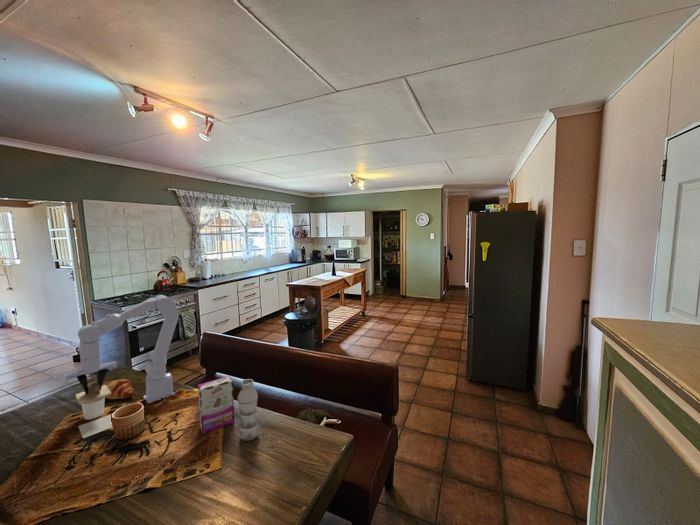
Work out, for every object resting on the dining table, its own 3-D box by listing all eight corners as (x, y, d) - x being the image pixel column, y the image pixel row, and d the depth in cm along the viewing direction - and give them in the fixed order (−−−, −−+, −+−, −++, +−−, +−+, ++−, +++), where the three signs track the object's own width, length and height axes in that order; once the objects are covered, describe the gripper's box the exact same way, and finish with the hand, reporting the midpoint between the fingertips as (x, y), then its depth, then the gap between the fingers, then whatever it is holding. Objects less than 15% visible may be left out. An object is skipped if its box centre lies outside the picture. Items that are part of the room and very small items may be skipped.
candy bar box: (231, 416, 110) (230, 375, 109) (234, 422, 106) (233, 380, 105) (199, 427, 104) (197, 384, 102) (201, 434, 100) (199, 389, 98)
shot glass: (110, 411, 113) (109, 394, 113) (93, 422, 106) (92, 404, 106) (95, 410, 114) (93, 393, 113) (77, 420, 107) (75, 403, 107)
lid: (106, 386, 115) (105, 376, 114) (111, 394, 109) (110, 383, 109) (75, 395, 108) (74, 385, 107) (79, 404, 102) (78, 393, 102)
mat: (113, 414, 111) (113, 413, 111) (119, 424, 105) (119, 423, 105) (78, 427, 103) (78, 426, 103) (83, 439, 97) (83, 438, 97)
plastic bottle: (253, 445, 95) (251, 387, 93) (234, 442, 96) (233, 385, 94) (262, 432, 101) (261, 378, 99) (245, 429, 102) (243, 376, 101)
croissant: (96, 400, 127) (84, 388, 123) (117, 380, 135) (107, 369, 131) (126, 409, 120) (115, 397, 116) (147, 388, 128) (137, 376, 124)
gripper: (112, 348, 115) (114, 380, 117) (62, 360, 104) (64, 395, 105) (117, 352, 111) (119, 386, 112) (64, 365, 100) (67, 402, 101)
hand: (93, 391), depth 108 cm, fingers closed on lid, 3 cm apart
